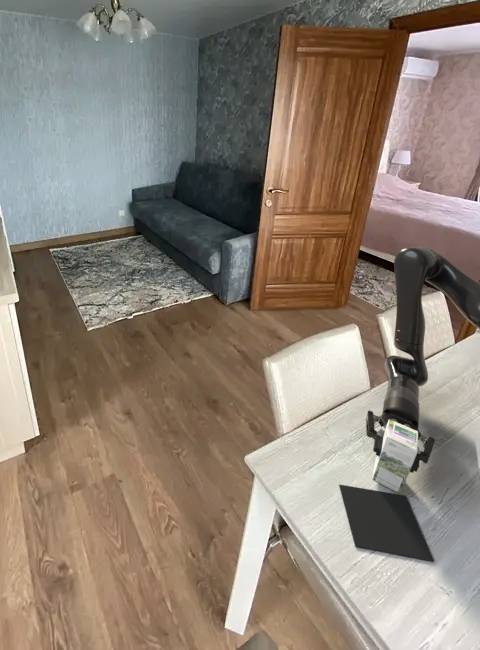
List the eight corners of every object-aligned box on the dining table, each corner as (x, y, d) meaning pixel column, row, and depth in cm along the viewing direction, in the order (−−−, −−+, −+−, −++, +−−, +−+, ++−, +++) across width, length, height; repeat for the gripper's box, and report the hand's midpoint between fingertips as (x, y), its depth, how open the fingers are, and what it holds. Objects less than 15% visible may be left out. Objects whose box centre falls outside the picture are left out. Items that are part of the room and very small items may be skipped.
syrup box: (402, 474, 80) (419, 429, 75) (400, 496, 76) (418, 450, 70) (374, 460, 83) (389, 417, 78) (371, 481, 79) (386, 436, 73)
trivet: (405, 496, 76) (406, 495, 76) (433, 562, 65) (434, 561, 65) (339, 485, 78) (339, 484, 78) (355, 546, 67) (355, 546, 67)
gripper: (372, 384, 89) (361, 432, 77) (440, 411, 82) (441, 468, 69) (366, 406, 92) (355, 455, 79) (431, 433, 85) (430, 492, 72)
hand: (395, 461), depth 74 cm, fingers closed on syrup box, 5 cm apart
